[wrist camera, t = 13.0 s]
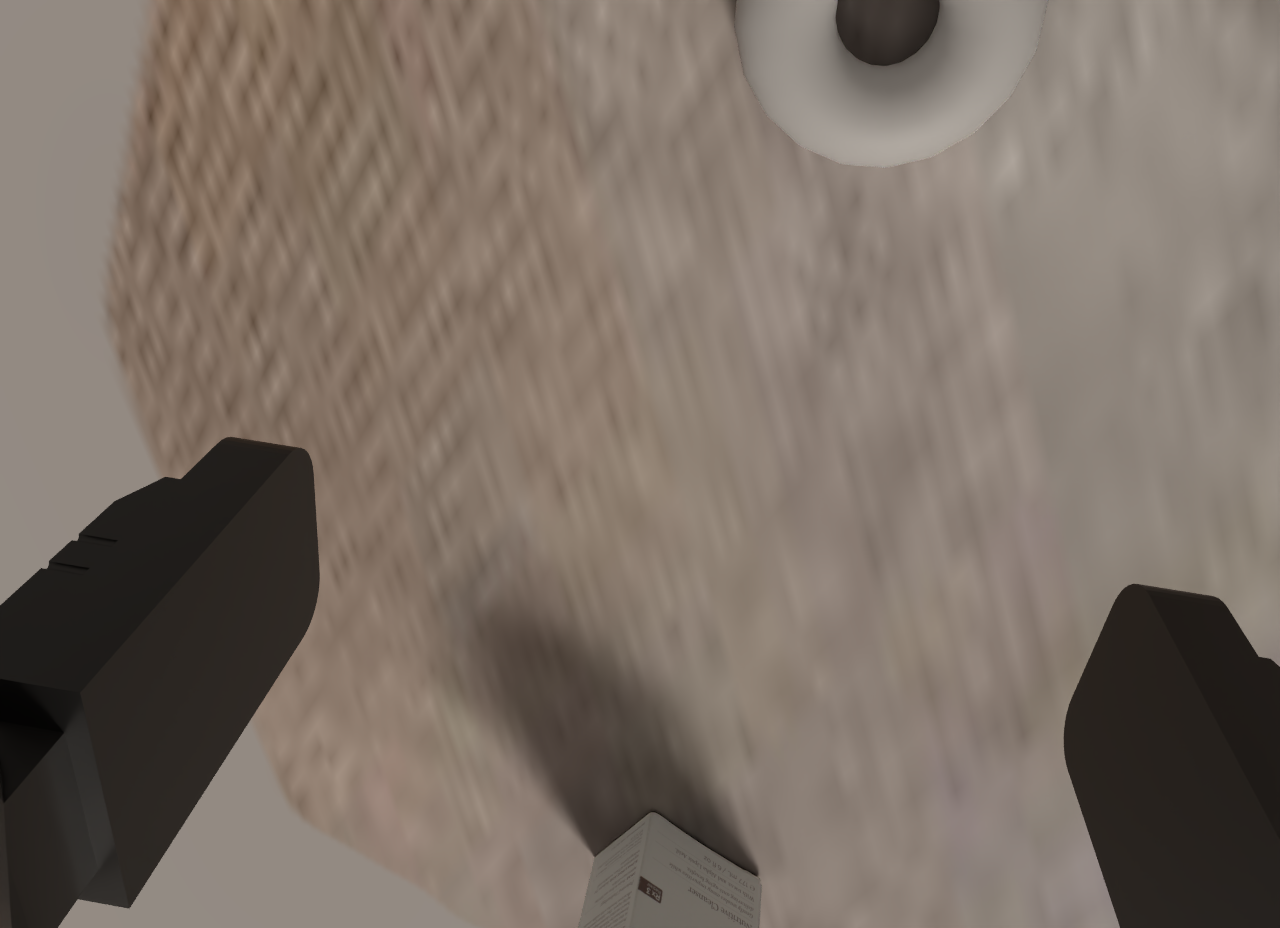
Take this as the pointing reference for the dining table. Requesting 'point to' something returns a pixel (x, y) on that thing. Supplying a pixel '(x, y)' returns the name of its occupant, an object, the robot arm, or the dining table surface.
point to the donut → (884, 77)
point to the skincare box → (667, 883)
